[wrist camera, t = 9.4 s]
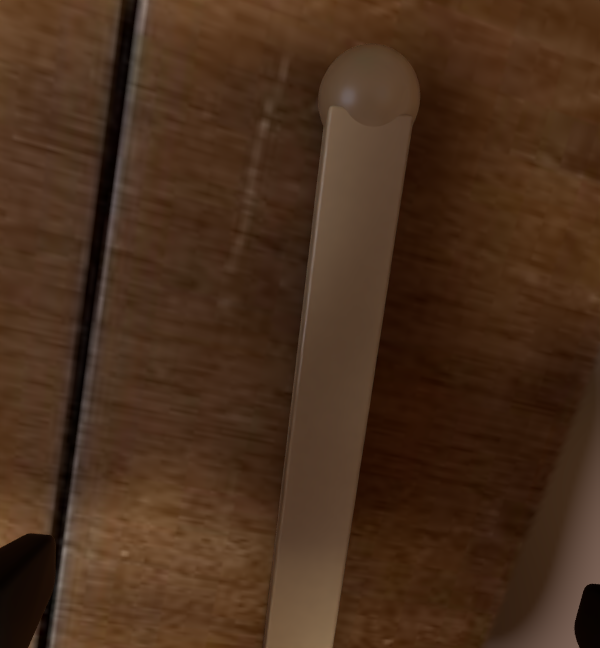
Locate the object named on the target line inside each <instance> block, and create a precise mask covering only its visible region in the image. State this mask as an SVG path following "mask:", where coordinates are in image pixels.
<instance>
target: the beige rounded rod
mask: <svg viewBox="0 0 600 648" xmlns="http://www.w3.org/2000/svg"><path fill="white" fill-rule="evenodd" d="M419 105H420V87H419V82H418V78H417V76H416V73H415V71H414V69H413V67H412V66H411V64H410V63H409V62H408V60H407V59H406V58H405V57H404V56H403V55H402V54H400V53H399V52H398V51H396V50H394V49H392V48H391V47H388V46H385V45H381V44H363V45H358V46H356V47H353V48H351V49H349V50H347V51H345V52H344V53H342V54H341V55H340V56H338V57H337V58H336V59H335V60H334V61H333V63H332V64H331V65H330V66H329V68H328V70H327V71H326V73H325V75H324V77H323V79H322V82H321V85H320V89H319V96H318V106H319V113H320V118H321V121H322V124H323V126H324V127H323V135H322V144H321V152H320V161H319V170H318V178H317V187H316V195H315V204H314V212H313V221H312V230H311V238H310V247H309V255H308V264H307V272H306V281H305V289H304V298H303V307H302V315H301V324H300V332H299V341H298V349H297V358H296V366H295V375H294V384H293V392H292V401H291V409H290V418H289V426H288V435H287V444H286V452H285V461H284V469H283V478H282V486H281V495H280V503H279V512H278V521H277V529H276V538H275V546H274V555H273V563H272V572H271V581H270V589H269V598H268V606H267V615H266V623H265V632H264V640H263V648H333V643H334V637H335V630H336V623H337V617H338V610H339V604H340V597H341V591H342V584H343V578H344V571H345V565H346V558H347V551H348V545H349V538H350V532H351V525H352V519H353V512H354V506H355V499H356V493H357V486H358V479H359V473H360V466H361V460H362V453H363V447H364V440H365V434H366V427H367V421H368V414H369V407H370V401H371V394H372V388H373V381H374V375H375V368H376V362H377V355H378V349H379V342H380V335H381V329H382V322H383V316H384V309H385V303H386V296H387V290H388V283H389V277H390V270H391V263H392V257H393V250H394V244H395V237H396V231H397V224H398V218H399V211H400V205H401V198H402V191H403V185H404V178H405V172H406V165H407V159H408V152H409V146H410V139H411V133H412V126H413V123H414V121H415V119H416V116H417V113H418V109H419Z"/></svg>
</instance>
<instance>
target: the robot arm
mask: <svg viewBox="0 0 600 648" xmlns="http://www.w3.org/2000/svg"><path fill="white" fill-rule="evenodd" d="M54 582H55V540H54V538H53V537H52V536H51V535H43V534H31V533H30V534H26V535H24V536H22V537H20V538H18V539H16V540H14V541H12V542H11V543H9V544H7V545H5V546H3V547H1V548H0V648H28V646H29V644H30V642H31V640H32V637H33V635H34V633H35V630H36V628H37V626H38V624H39V621H40V619H41V617H42V614H43V612H44V610H45V608H46V605H47V603H48V601H49V599H50V596H51V594H52V591H53V587H54ZM575 635H576V640H577V642H578V645H579V647H580V648H600V584H589V585H587V586H586V587H585V589H584V591H583V594H582V598H581V602H580V605H579V609H578V613H577V616H576V620H575Z"/></svg>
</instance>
